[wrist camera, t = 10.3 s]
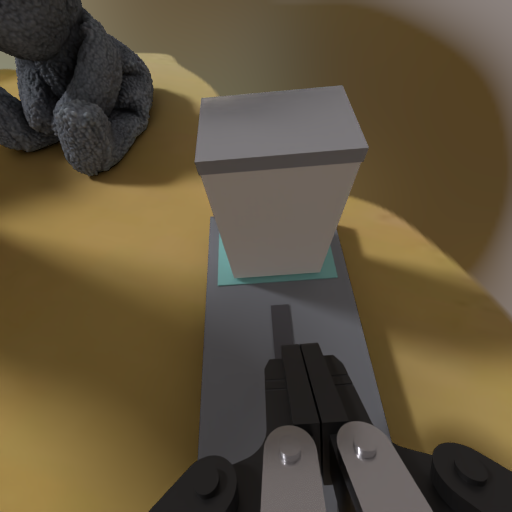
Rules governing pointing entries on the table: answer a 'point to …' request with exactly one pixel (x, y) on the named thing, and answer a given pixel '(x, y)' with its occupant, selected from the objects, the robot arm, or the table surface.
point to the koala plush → (71, 85)
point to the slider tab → (278, 175)
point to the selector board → (273, 346)
